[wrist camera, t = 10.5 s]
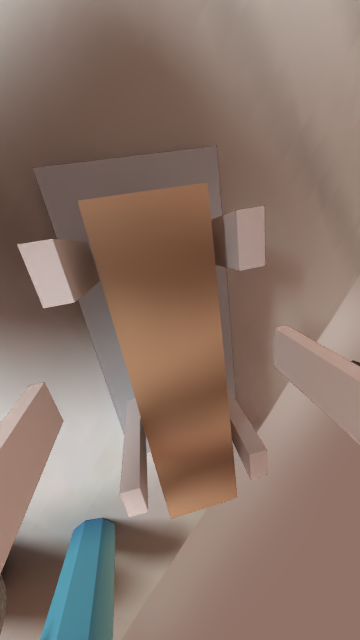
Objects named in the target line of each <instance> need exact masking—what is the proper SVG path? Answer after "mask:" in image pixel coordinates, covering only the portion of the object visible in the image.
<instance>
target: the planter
mask: <svg viewBox="0 0 360 640" xmlns="http://www.w3.org/2000/svg"><path fill="white" fill-rule="evenodd" d="M6 603H7V595H6V588H5V584H4V581H3V578H2V576H1V574H0V633H1V630H2V627H3V622H4V618H5V612H6Z"/></svg>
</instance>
